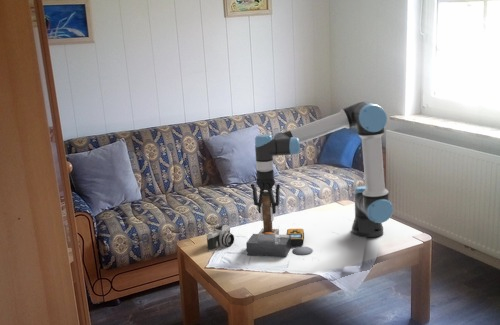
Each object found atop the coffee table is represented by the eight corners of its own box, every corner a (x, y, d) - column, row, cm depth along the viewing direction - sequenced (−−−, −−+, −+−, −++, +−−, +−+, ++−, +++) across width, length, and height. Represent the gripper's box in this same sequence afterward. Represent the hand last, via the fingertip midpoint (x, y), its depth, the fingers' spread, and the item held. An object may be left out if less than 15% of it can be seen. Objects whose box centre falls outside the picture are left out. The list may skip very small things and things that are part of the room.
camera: (219, 253, 243) (217, 232, 241) (204, 250, 248) (202, 230, 246) (239, 242, 256) (237, 222, 254) (225, 239, 261) (223, 220, 259)
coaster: (314, 247, 242) (314, 247, 242) (311, 255, 234) (311, 254, 234) (294, 247, 245) (294, 246, 245) (291, 254, 236) (291, 253, 236)
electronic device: (304, 234, 260) (303, 227, 260) (304, 245, 245) (304, 238, 245) (286, 234, 261) (286, 227, 261) (286, 245, 246) (285, 238, 245)
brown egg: (274, 242, 242) (274, 232, 241) (272, 246, 238) (272, 235, 237) (265, 242, 244) (265, 231, 243) (263, 245, 240) (262, 235, 238)
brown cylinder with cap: (273, 229, 241) (271, 191, 237) (271, 232, 237) (269, 193, 233) (264, 229, 242) (262, 191, 238) (262, 232, 238) (260, 193, 235)
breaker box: (291, 247, 245) (290, 227, 243) (286, 257, 234) (285, 237, 232) (254, 245, 250) (252, 226, 248) (247, 255, 239) (245, 235, 237)
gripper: (285, 167, 235) (287, 218, 240) (248, 167, 240) (251, 217, 244) (281, 171, 228) (284, 223, 233) (244, 171, 233) (247, 222, 237)
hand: (267, 220), depth 239 cm, fingers closed on brown cylinder with cap, 4 cm apart
